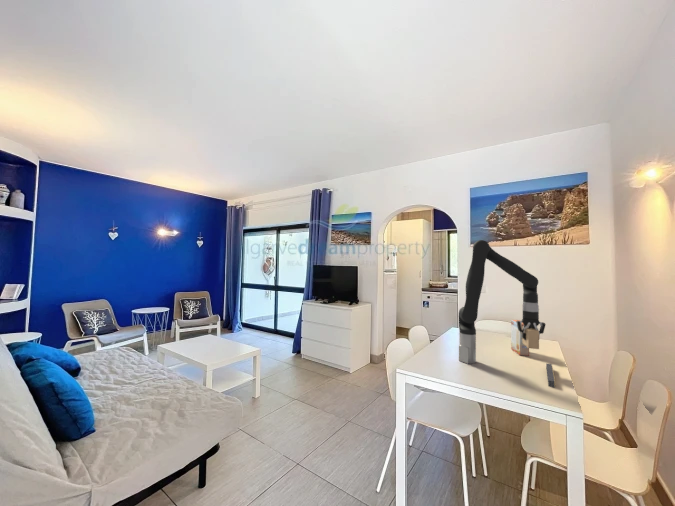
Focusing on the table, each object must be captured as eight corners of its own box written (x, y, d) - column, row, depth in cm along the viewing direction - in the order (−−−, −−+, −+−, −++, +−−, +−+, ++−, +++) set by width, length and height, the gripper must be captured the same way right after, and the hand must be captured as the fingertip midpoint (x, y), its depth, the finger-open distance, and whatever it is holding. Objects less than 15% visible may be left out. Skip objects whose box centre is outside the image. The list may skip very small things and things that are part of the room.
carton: (539, 349, 151) (539, 331, 151) (528, 348, 153) (528, 330, 153) (533, 344, 160) (532, 326, 161) (522, 343, 162) (522, 326, 162)
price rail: (555, 387, 136) (555, 381, 136) (548, 386, 137) (548, 380, 137) (552, 369, 158) (552, 364, 158) (546, 368, 160) (546, 363, 160)
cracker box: (529, 356, 180) (529, 324, 181) (519, 355, 181) (519, 323, 182) (520, 349, 194) (520, 319, 194) (510, 348, 195) (510, 319, 196)
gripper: (542, 309, 158) (543, 339, 158) (514, 308, 163) (514, 337, 162) (548, 312, 151) (548, 343, 151) (518, 310, 156) (518, 340, 155)
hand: (530, 339), depth 157 cm, fingers closed on carton, 5 cm apart
